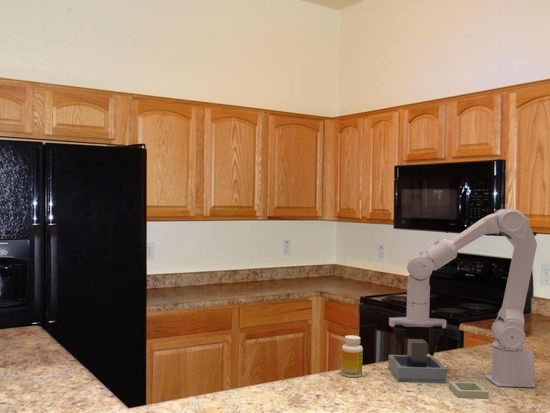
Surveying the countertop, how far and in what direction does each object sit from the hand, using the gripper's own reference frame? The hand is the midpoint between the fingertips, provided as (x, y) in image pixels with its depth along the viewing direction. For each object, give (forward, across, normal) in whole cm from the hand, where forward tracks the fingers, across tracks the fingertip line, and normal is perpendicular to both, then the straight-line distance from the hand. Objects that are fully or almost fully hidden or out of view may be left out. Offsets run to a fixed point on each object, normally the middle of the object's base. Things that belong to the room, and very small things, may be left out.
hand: (416, 354), depth 144 cm
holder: (+5, -9, +13) cm, 17 cm away
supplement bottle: (+6, +17, +1) cm, 18 cm away
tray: (+5, 0, 0) cm, 5 cm away
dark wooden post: (+4, 0, 0) cm, 4 cm away
